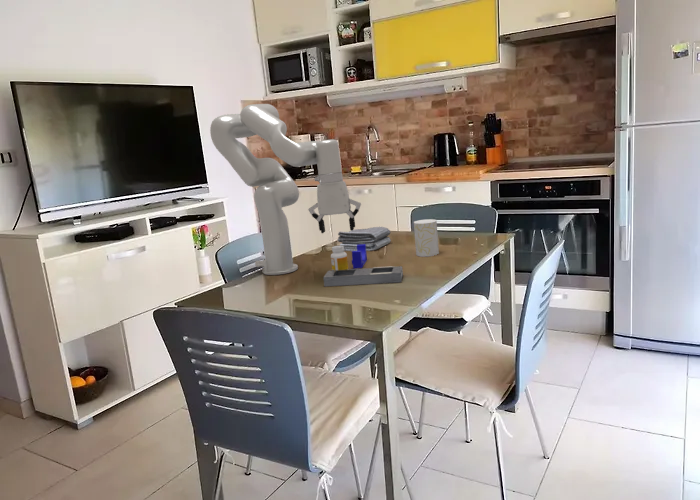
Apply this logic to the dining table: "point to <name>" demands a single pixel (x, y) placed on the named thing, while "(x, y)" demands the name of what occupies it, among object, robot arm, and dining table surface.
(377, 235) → the towel
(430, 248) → the cup
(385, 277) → the metal bottle holder tray
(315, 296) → the dining table surface
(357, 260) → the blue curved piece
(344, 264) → the supplement bottle
